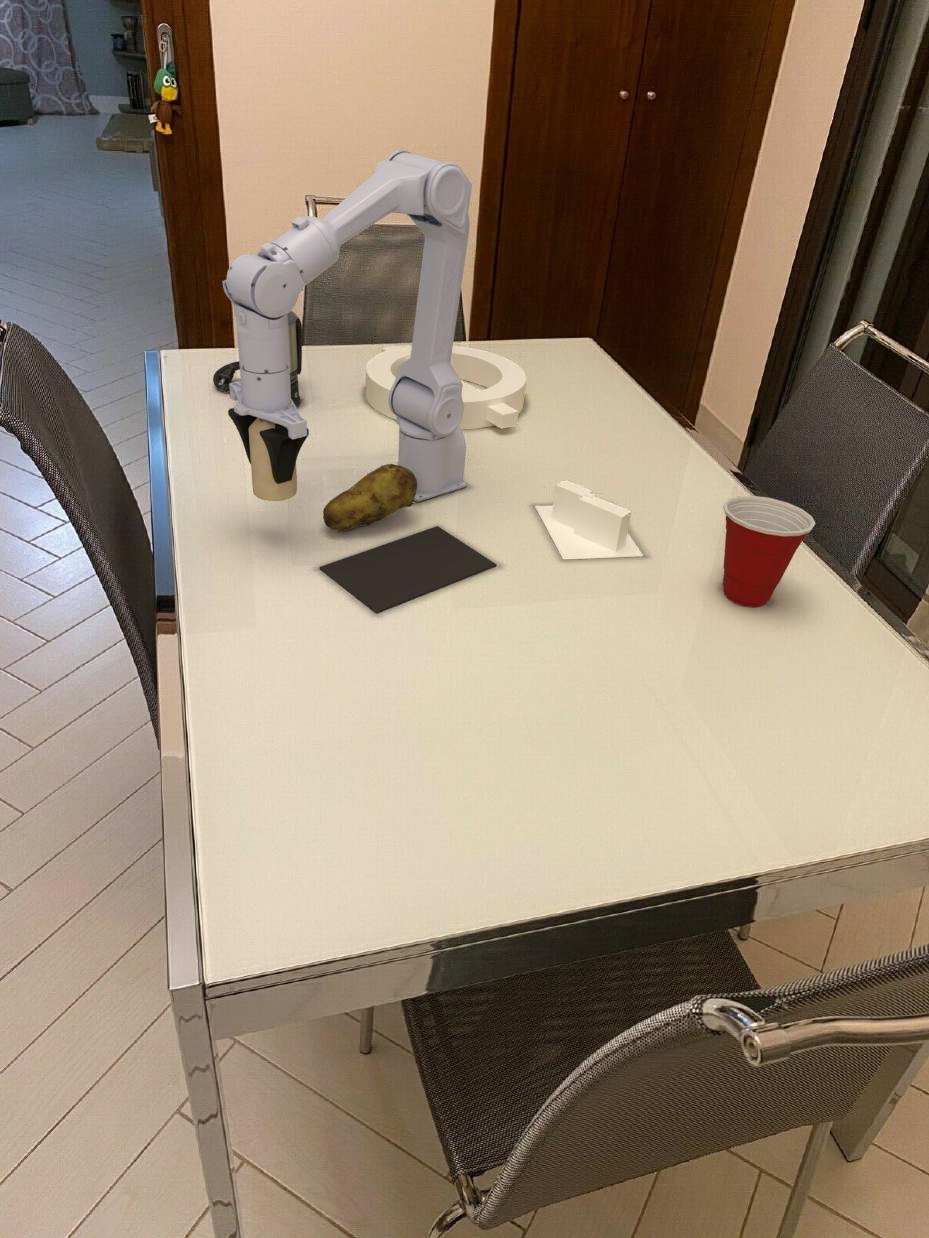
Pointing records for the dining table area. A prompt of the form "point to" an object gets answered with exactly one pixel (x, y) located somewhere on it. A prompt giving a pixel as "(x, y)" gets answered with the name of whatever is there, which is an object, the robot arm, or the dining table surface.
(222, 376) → the milk frother
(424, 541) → the mat
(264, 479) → the candle
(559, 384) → the dining table surface
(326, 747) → the dining table surface
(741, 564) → the plastic cup
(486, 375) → the white circle with bar
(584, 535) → the napkin holder
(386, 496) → the potato
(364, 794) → the dining table surface
